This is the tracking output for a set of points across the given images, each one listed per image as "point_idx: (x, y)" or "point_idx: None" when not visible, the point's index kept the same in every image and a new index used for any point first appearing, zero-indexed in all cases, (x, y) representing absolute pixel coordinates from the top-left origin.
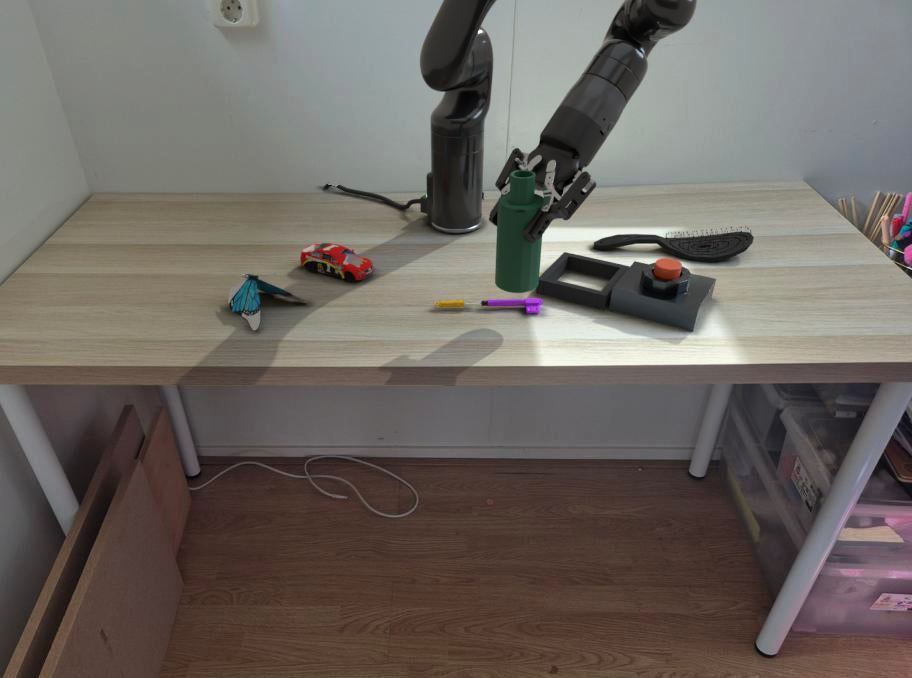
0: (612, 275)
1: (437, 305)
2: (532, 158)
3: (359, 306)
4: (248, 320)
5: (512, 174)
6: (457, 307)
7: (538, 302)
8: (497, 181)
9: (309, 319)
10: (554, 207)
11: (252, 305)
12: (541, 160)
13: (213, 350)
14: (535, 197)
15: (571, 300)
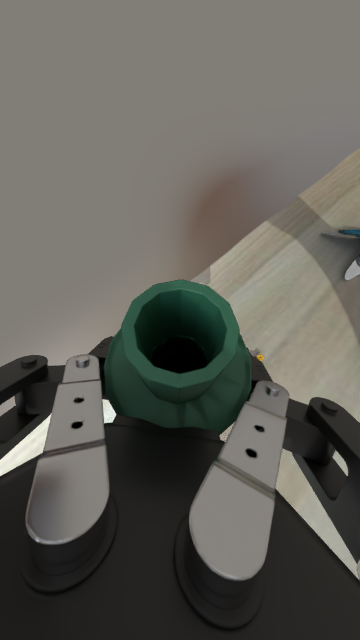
0: None
1: (257, 356)
2: (323, 591)
3: (312, 309)
4: (338, 234)
5: (211, 296)
6: None
7: None
8: (343, 413)
9: (315, 267)
10: (46, 361)
11: (351, 232)
12: (189, 529)
13: (309, 207)
14: (158, 414)
15: None
